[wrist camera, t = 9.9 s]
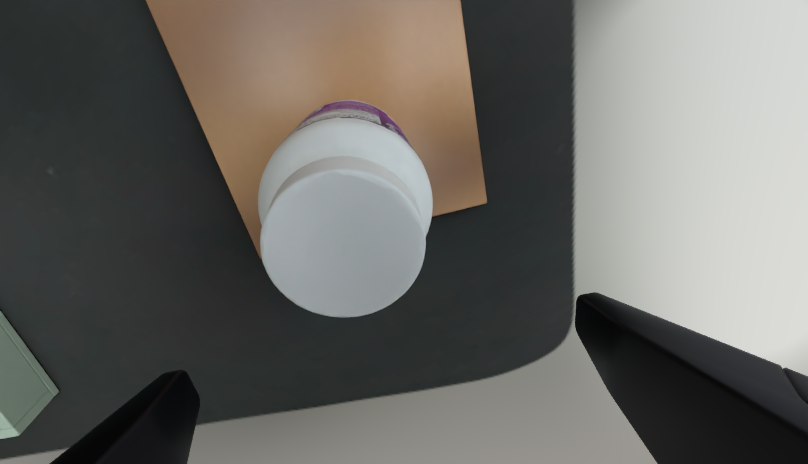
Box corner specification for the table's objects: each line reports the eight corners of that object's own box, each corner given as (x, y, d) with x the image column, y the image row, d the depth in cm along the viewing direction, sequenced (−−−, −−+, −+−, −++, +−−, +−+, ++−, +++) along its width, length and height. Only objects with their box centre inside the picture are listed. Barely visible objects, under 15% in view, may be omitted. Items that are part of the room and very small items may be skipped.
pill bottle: (415, 199, 19) (465, 320, 10) (310, 220, 19) (270, 360, 10) (397, 86, 17) (441, 117, 8) (277, 108, 17) (188, 166, 8)
